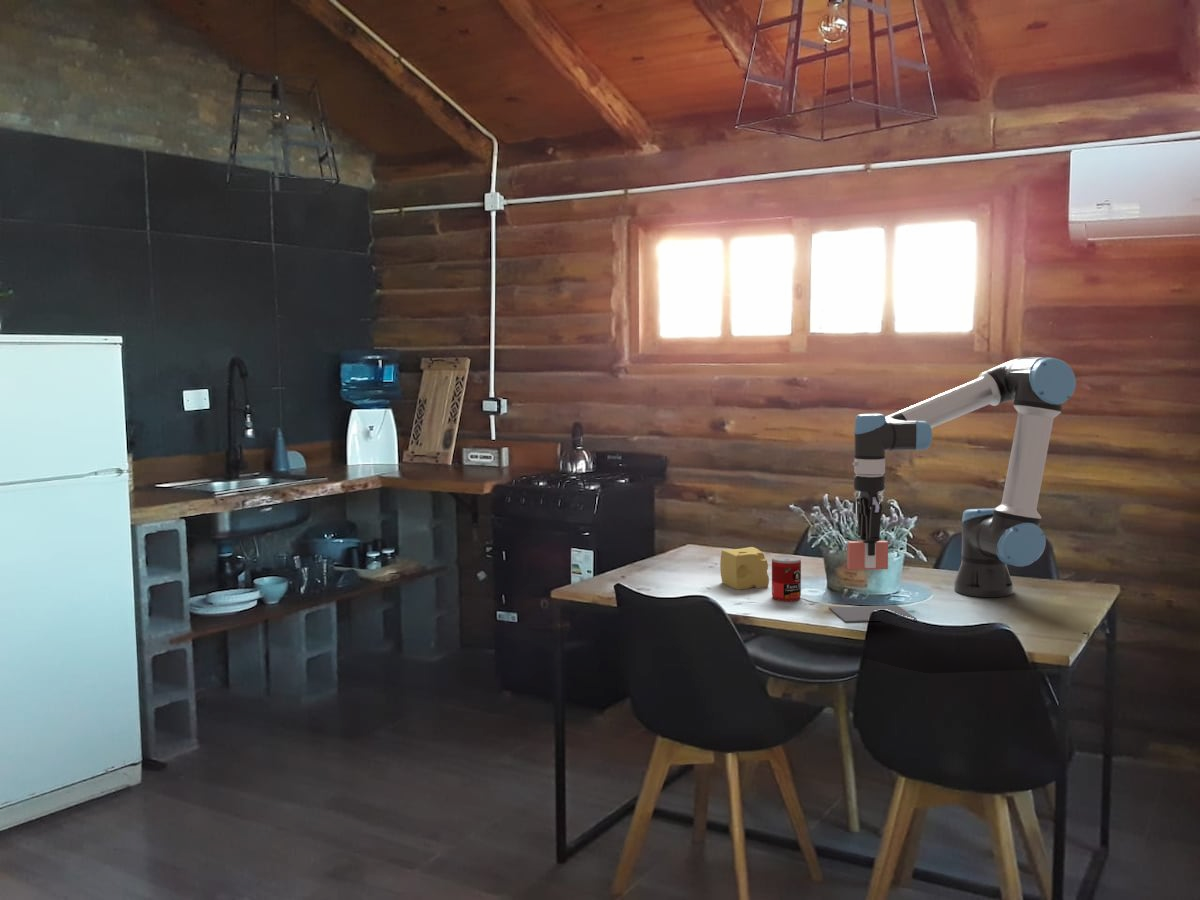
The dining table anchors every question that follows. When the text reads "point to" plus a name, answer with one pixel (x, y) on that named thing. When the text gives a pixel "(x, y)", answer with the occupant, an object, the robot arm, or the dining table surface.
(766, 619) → the dining table surface
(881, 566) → the block
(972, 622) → the dining table surface
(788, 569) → the canned food
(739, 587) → the cheese
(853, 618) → the mat
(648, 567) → the dining table surface
